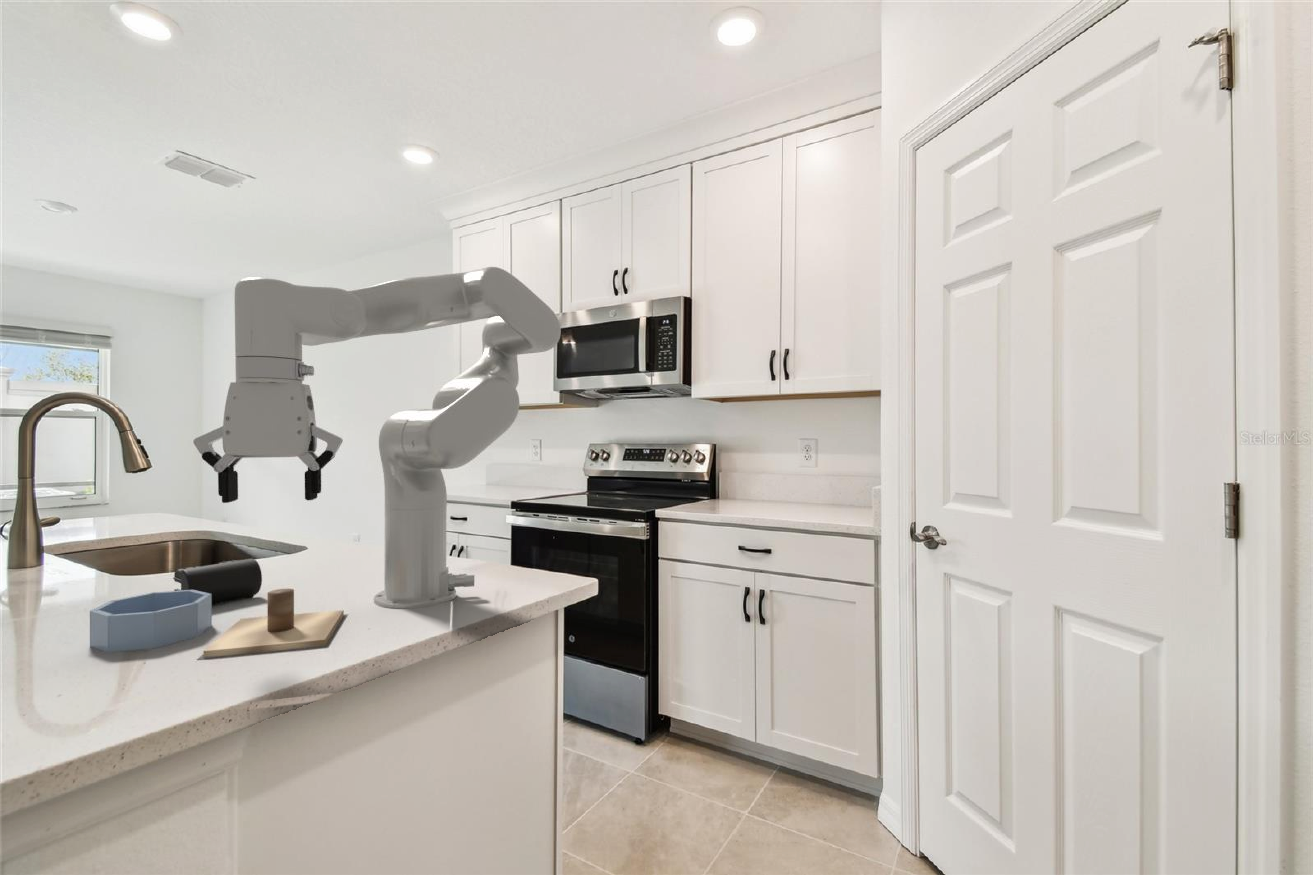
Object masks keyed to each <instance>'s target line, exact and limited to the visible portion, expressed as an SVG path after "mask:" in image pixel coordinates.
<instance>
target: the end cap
mask: <svg viewBox="0 0 1313 875" xmlns="http://www.w3.org/2000/svg"><path fill="white" fill-rule="evenodd" d="M173 574H174V577H173V578H172V579H173V580H174V582H175V583H179V584H180V589H179V588H174V590H173V591H181V590H197V591H201V592H206V593H210V594H212V606H214V605H219V604H223V603H228V602H233V601H237V600H243V599H253V598H254V597H255V595H257V594H259V591H260V590H261V588H262V583H263V575H262V569H261V567H260V564H259V563H258V561H257V560H256V559H254V558H247V559H240V560H239V559H238V560H237V559H231V560H227V561H225V560H222V561H221V562H218V563H214V564H208V565H203V566H202V565H201V566H195V565H192V566H191V567H185V566H183V567H182V568H179V569H176V570H175V572H174V573H173Z"/></svg>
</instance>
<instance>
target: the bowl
mask: <svg viewBox="0 0 1313 875" xmlns="http://www.w3.org/2000/svg"><path fill="white" fill-rule="evenodd" d="M180 590H181V589H180ZM212 608H213V605H212V594H210V593H206V592H201V591H197V590H181V591H174V590H170V591H169V590H168V591H167V590H166V591H153V592H148V593H144V594H138V595H134V596H129V597H122V598H118V599H113V600H110V601H107V602H106V603H103V604H101V605H100V606H97V607H95V608H93V609H91V610H89V647H90V648H91V647H92V648H95V649H98V650H100V651H103V652H106V653H114V652H124V651H125V652H126V651H136V650H147V649H156V648H160V647H163V646H167V645H170V644H174V643H177V642H181V641H186V640H189V639H192V638H193V639H194V638H196V637H199V636H200V635H201V634H203V633H204V632H206V630H208V629H209V628H210V627H212V625H213V624H212V623H213V622H212V620H213V618H212V617H213V614H212V613H213V612H212V611H213V610H212Z"/></svg>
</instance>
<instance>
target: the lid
mask: <svg viewBox="0 0 1313 875" xmlns="http://www.w3.org/2000/svg"><path fill="white" fill-rule="evenodd" d="M344 613H345V612H344V610H343V609H342V610H330V611H319V612H304V613H295V590H294V589H293V588H279V589H273V590H270V591H268V592H267V616H257V617H243V618H239V619H238V621H236V622H235V623H234V624H233V625H232V626H231V627H229V628H228V629H227V630H226V631H225V632H223V634H221V635H220V636H219V637H218V638H217V639H216V640H214V641H213V642H212V643H211V644H210V645H209V646H207V648H205V649H204V650H203V654H202V655H203V658H206V657H216V656H226V655H237V654H247V653H257V652H267V651H277V650H288V649H298V648H308V647H318V646H325V645H326V643H327V642H328V640H329V638H330V637H331V635H332V634H333V632H334V630H335V629H336V627H337V625H338V624H339V622H340V621H341V619H342V617H343V616H344V615H345V614H344Z"/></svg>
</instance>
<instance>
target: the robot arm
mask: <svg viewBox="0 0 1313 875" xmlns="http://www.w3.org/2000/svg"><path fill="white" fill-rule="evenodd" d="M484 319H488V320H487V321H486V323H485V324H484V326H483V329H482V334H481V336H482V337H481V342H482V351H481V352H482V353H481V356H480V359H479V360H478V361H476V362H475V363H474V364H473V365H472V366H470V367H469V368H468V369H466V370H465V371H464V372H462V373H460V374H459V375H458V376H456V377H455V378H452V380H450V381H448V382H447V383H446V384H444V385H443V386H442V387H441V388H440V389H439V390H438V391H437V392H436V394H435V396H434V397H433V401H432V404H431V405H432V406H431V407H432V409H431V408H427V409H425V408H424V409H423V408H420V409H418V408H415V409H407V410H402V411H399V412H396V413H394V414H393V415H391V416H390V417H388V419H387V420H386V421H385V422H384V423H383V424H382V426H381V429H380V432H379V435H378V448H379V449H378V450H379V451H378V452H379V456H380V461H381V465H382V472H383V485H384V590H382V591H379V592H378V593H376V594H375V595H374V597H373V603H374V604H375V605H376V606H378V607H381V608H386V609H414V608H416V609H417V608H423V607H424V608H425V607H430V606H434V605H440V604H443V603H445V602H448V601H450V602H452V601H453V600H454V599H455V598H456V595H457V590H456V588H460V587H463V588H469V587H471V588H472V587H475V574H467V573H459V574H453V573H452V572H451V573H450V572H449V566H447V505H448V504H447V502H448V501H447V499H448V498H447V496H448V495H447V486H446V482H445V478H444V475H443V474H444V473H443V472H442V470H453V469H458V468H460V467H463V466H465V465H467V464H469V463H470V462H471V461H473V460H474V459H475V458H477V457H478V456H479V455H480V454H481V453H483V452H484V451H485V450H486V449H487V448H488V447H489V446H491V445H492V444H493V443H494V442H495V441H496V440H497V439H499V438H500V437H501V436H502V435H503V434H505V433H506V432H507V431H508V430H509V428H511V426H513V424H514V423H515V420H516V418H517V417H518V414H519V410H520V396H519V393H518V390H517V386H518V385H519V381H520V376H519V365H518V364H519V363H518V361H519V360H518V355H527V354H538V353H545V352H548V351H550V350H552V349H553V348H554V347H556V346H557V344H558V343H559V341H560V339H561V333H562V332H561V330H562V329H561V324H560V320H559V319H558V317H557V315H556V314H555V312H554V311H553V310H552V309H551V307H550V306H548V305H547V304H546V302H545V301H544V300H542V299H541V298H540V297H539V296H538V295H537V294H536V293H534V291H532V290H531V289H530V288H529V287H527V286H526V284H524V283H523V282H522V281H520V280H519V279H518V278H517V277H516V276H514V275H513V274H511V273H510V272H509V271H507V270H505V269H503V268H500V267H498V266H488V267H487V266H486V267H484V268H483V267H482V268H480V269H476V270H475V269H474V270H471V271H464V272H456V273H449V274H448V273H446V274H440V275H438V274H437V275H428V276H416V277H414V276H413V277H406V278H401V279H394V280H391V281H386V282H383V283H379V284H376V285H372V286H367V287H362V288H357V289H353V290H345V289H343V288H338V287H333V286H331V287H330V286H329V287H328V286H310V285H299V284H298V285H297V284H293V283H290V282H288V281H285V280H281V279H276V278H270V277H269V278H268V277H247V278H243V279H241V280H239V281H238V282H237V283H236V284H235V287H234V341H235V342H234V344H235V346H234V348H235V349H234V351H235V354H234V355H235V359H234V360H235V382H234V381H233V382H230V384H229V387H228V391H227V395H226V400H225V404H224V411H223V412H224V413H223V421H222V426H220V427H218V428H216V429H213V430H212V431H209V432H206V433H204V434H202V435H200V436H197V437H196V438H194V439H193V445H194V446H195V448H196V449H197V451H198V452H199V453H198V454H200V455H201V458H202V460H203V461H205V462H206V464H208V465H209V466H210V467H211V468H213V470H214V472H216V473H217V481H218V482H217V484H218V485H217V486H218V487H217V491H218V492H217V493H218V496H219V497H221V503H222V504H226V503H227V504H228V503H232V502H235V501H237V500H238V499H239V476H238V475H239V473H238V471H237V470H235V467H236V466H237V464H238V463H239V462H240V461H241V460H242V459H244V458H245V459H246V458H247V459H248V458H251V459H252V458H253V459H256V458H261V459H262V458H296V457H298V459H299V460H300V461H302V463H303V464H305V466H306V467H307V470H306V471H305V472H304V499H305V500H306V501H313V500H316V499H317V498H318V494H321V493H322V470H323V469H324V468H325V466H326V465H327V464H328V463H330V462H331V461H332V460H333V459H334V458H335V456H336V454H337V452H338V451H339V449H340V447H341V445H342V443H343V442H344V441H343V438H342V437H340V436H339V435H336V434H334V433H331V432H329V431H328V430H325V429H323V428H321V427H320V426H317V422H316V413H315V407H314V400H313V394H312V390H311V387H310V384H304V383H303V382H304V381H305V378H306V377H308V376H310V377H311V376H312V377H313V376H314V375H315V367H314V366H313V365H307V364H305V362H304V361H303V346H308V347H311V346H319V345H325V344H326V345H327V344H330V343H331V344H332V343H333V344H334V343H341V342H345V341H349V340H351V339H357V338H363V337H371V336H378V335H392V334H406V333H411V332H417V331H418V332H419V331H423V330H424V331H425V330H429V329H436V328H439V327H440V328H441V327H445V326H451V325H458V324H462V323H469V322H475V321H479V320H484ZM318 439H319V440H321V441H324V442H326V445H327V446H325V447H326V448H325V449H324V451H323V452H322V453H320V455H319V456H318V455H317V454H316V451H317V447H318ZM220 440H222V449H223V452H224V455H223V456H222V455H220V454H219V453H218V452H217V451H215V450H214V447H213V444H214V443H215V442H218V441H220Z"/></svg>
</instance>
